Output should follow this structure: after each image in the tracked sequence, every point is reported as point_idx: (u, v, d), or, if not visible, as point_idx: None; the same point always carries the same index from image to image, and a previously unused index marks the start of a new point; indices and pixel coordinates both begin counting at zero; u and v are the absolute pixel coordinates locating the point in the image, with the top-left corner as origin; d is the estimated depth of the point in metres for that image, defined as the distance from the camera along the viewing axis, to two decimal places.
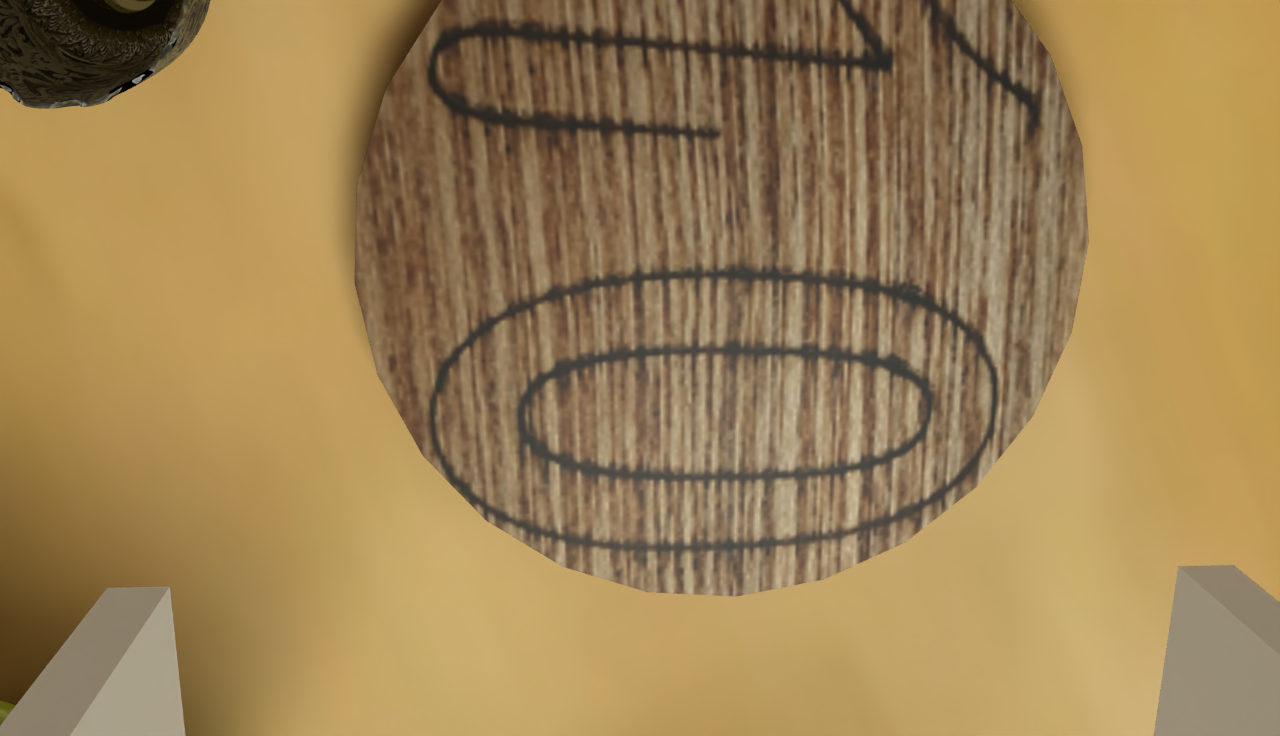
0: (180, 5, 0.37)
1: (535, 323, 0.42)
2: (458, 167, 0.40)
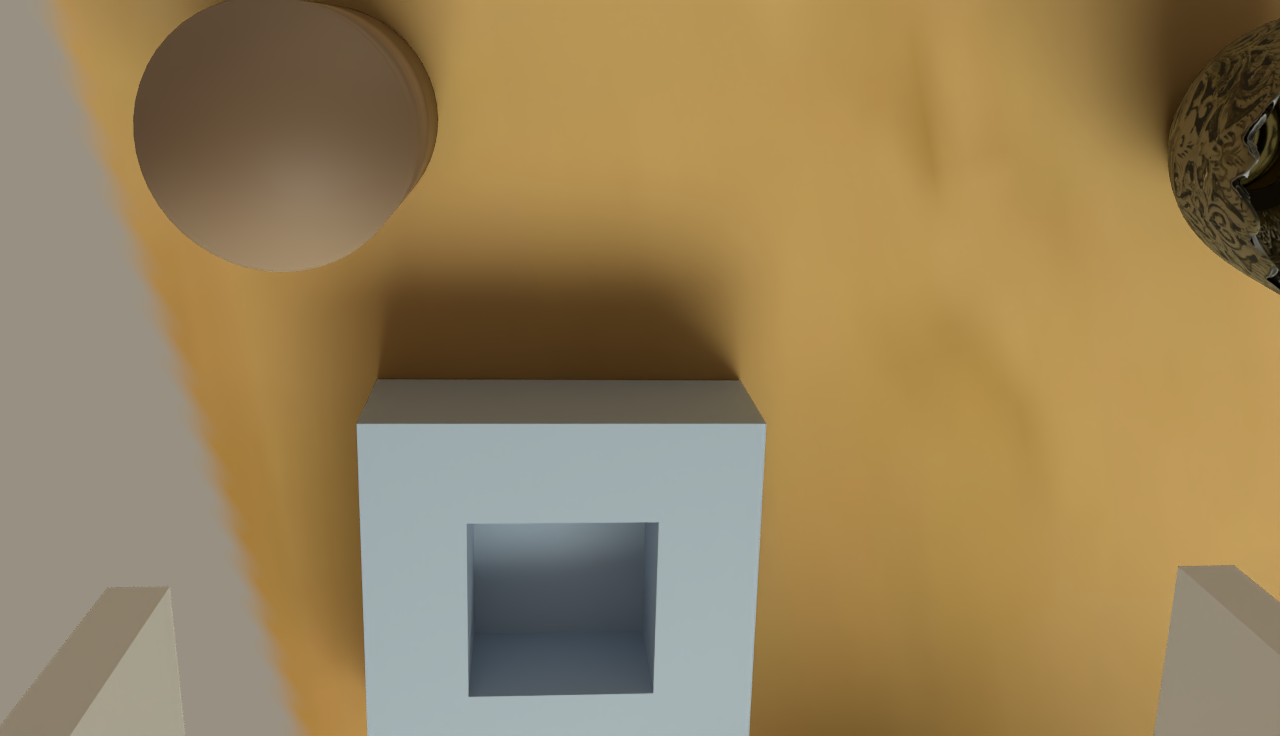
0: None
1: None
2: None
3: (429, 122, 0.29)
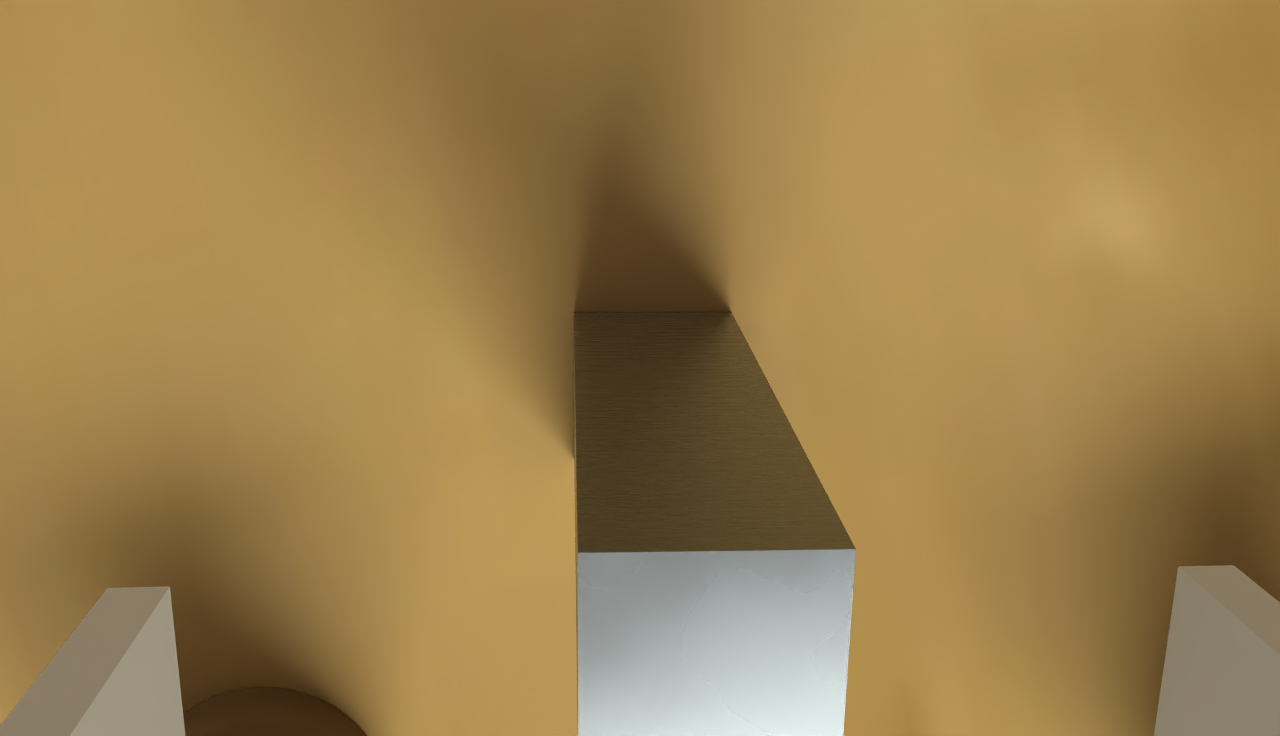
0: None
1: None
2: None
3: None
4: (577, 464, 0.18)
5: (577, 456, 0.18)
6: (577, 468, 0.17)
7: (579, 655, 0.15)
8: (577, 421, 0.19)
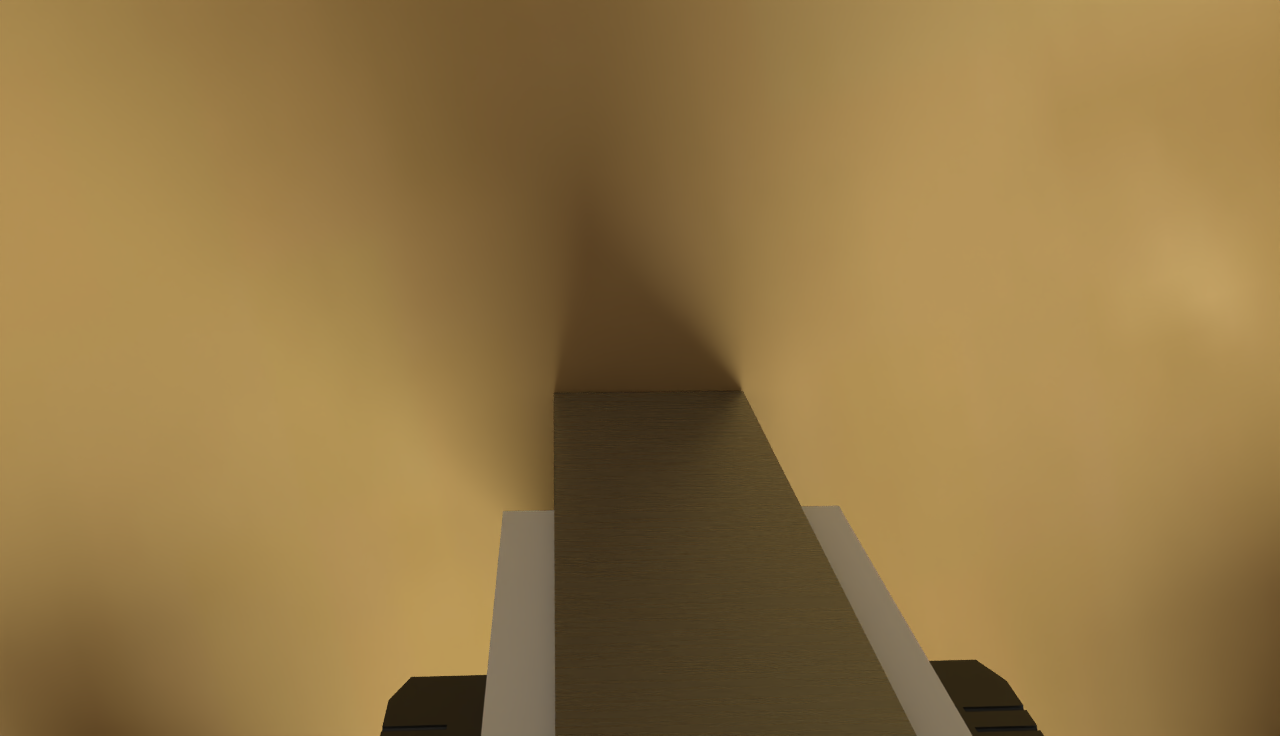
0: None
1: None
2: None
3: None
4: (556, 643, 0.13)
5: (556, 628, 0.13)
6: (556, 650, 0.13)
7: None
8: (556, 567, 0.15)
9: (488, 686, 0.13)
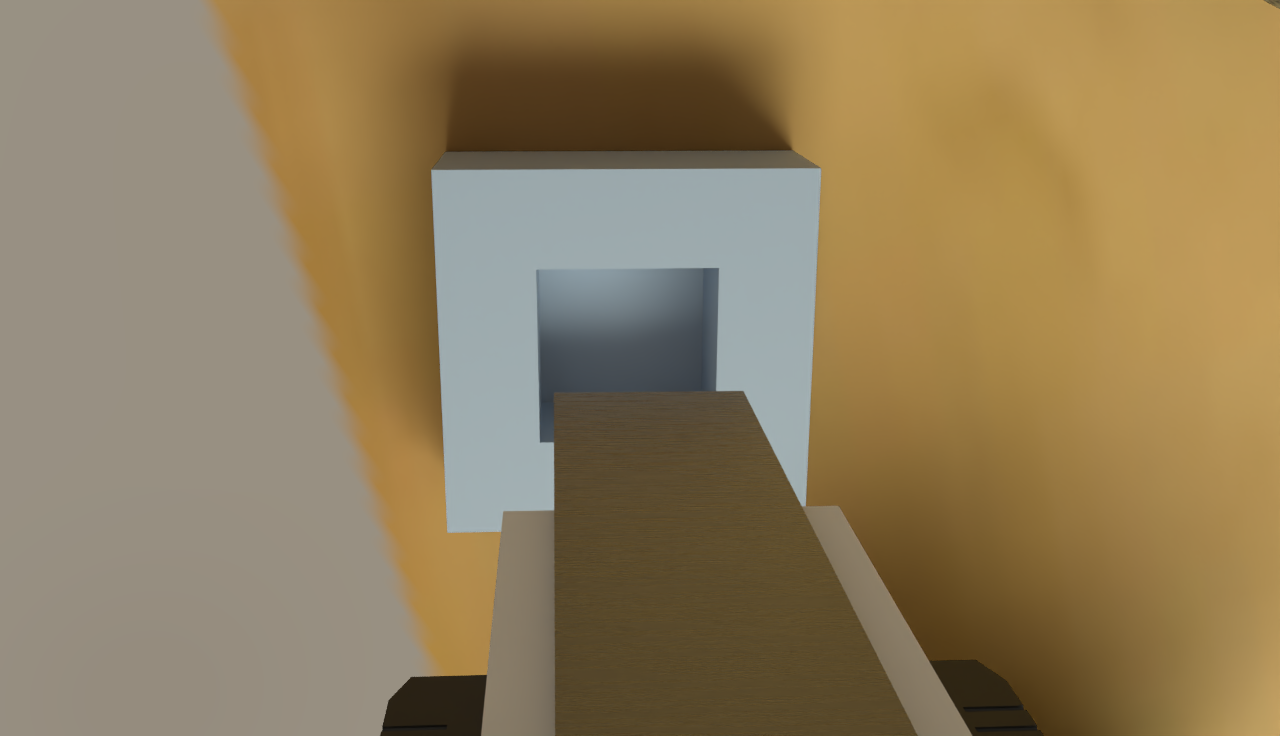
0: None
1: None
2: None
3: None
4: (556, 643, 0.13)
5: (556, 629, 0.13)
6: (556, 651, 0.13)
7: None
8: (556, 567, 0.15)
9: (488, 686, 0.13)
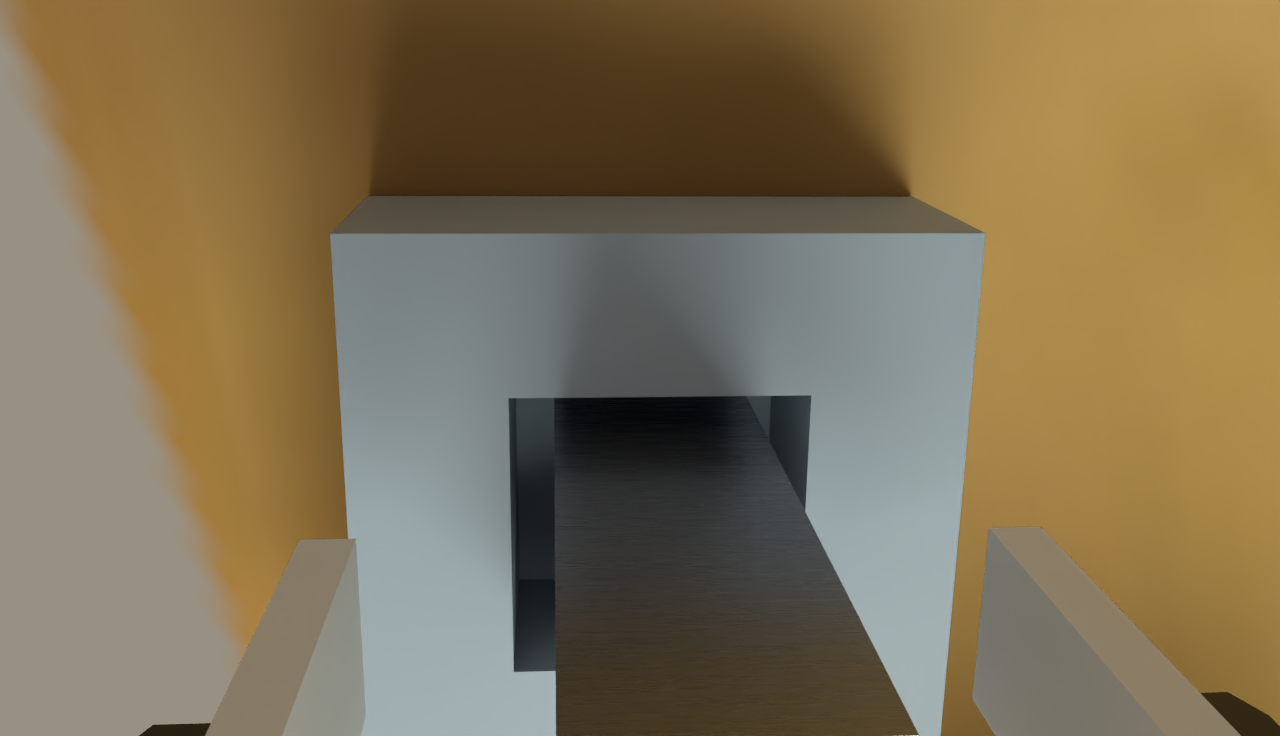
0: None
1: None
2: None
3: None
4: (556, 598, 0.14)
5: (556, 586, 0.14)
6: (556, 605, 0.14)
7: None
8: (557, 532, 0.16)
9: None
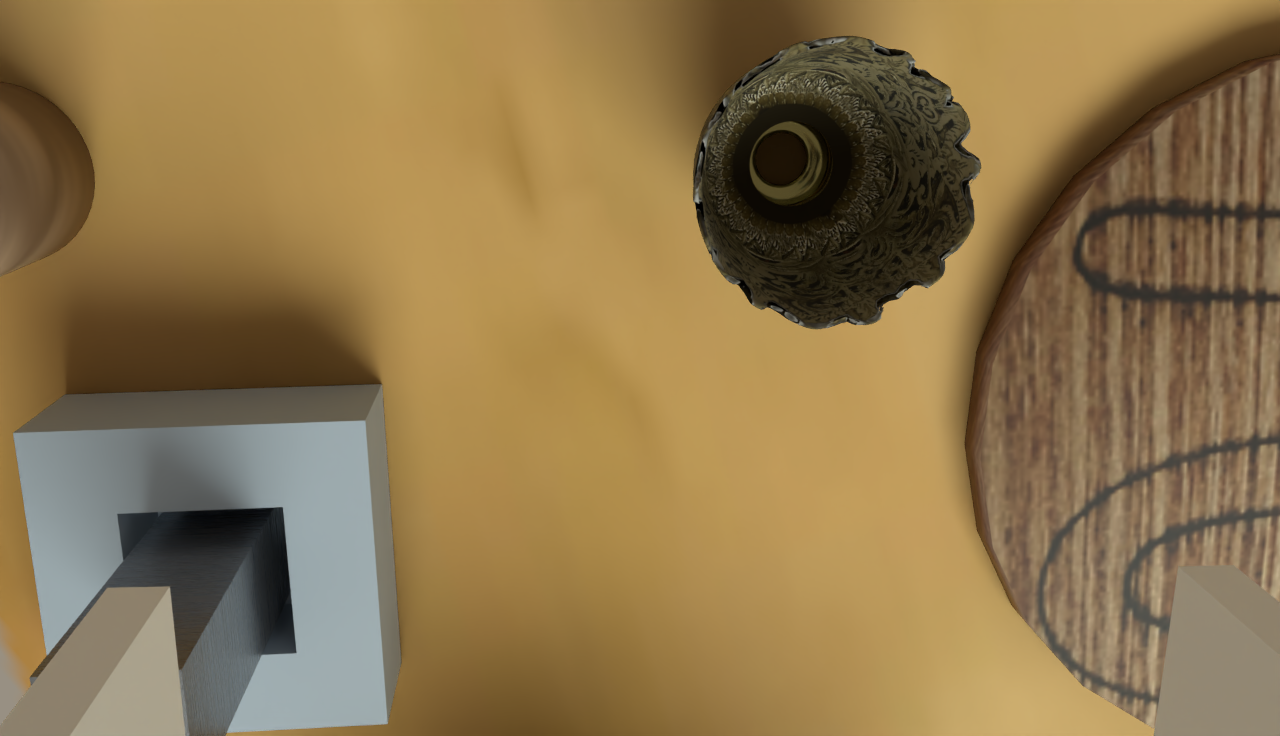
0: (849, 197, 0.37)
1: (1151, 491, 0.41)
2: (1092, 342, 0.40)
3: (62, 178, 0.35)
4: (77, 618, 0.31)
5: (81, 613, 0.31)
6: None
7: None
8: (103, 586, 0.33)
9: None
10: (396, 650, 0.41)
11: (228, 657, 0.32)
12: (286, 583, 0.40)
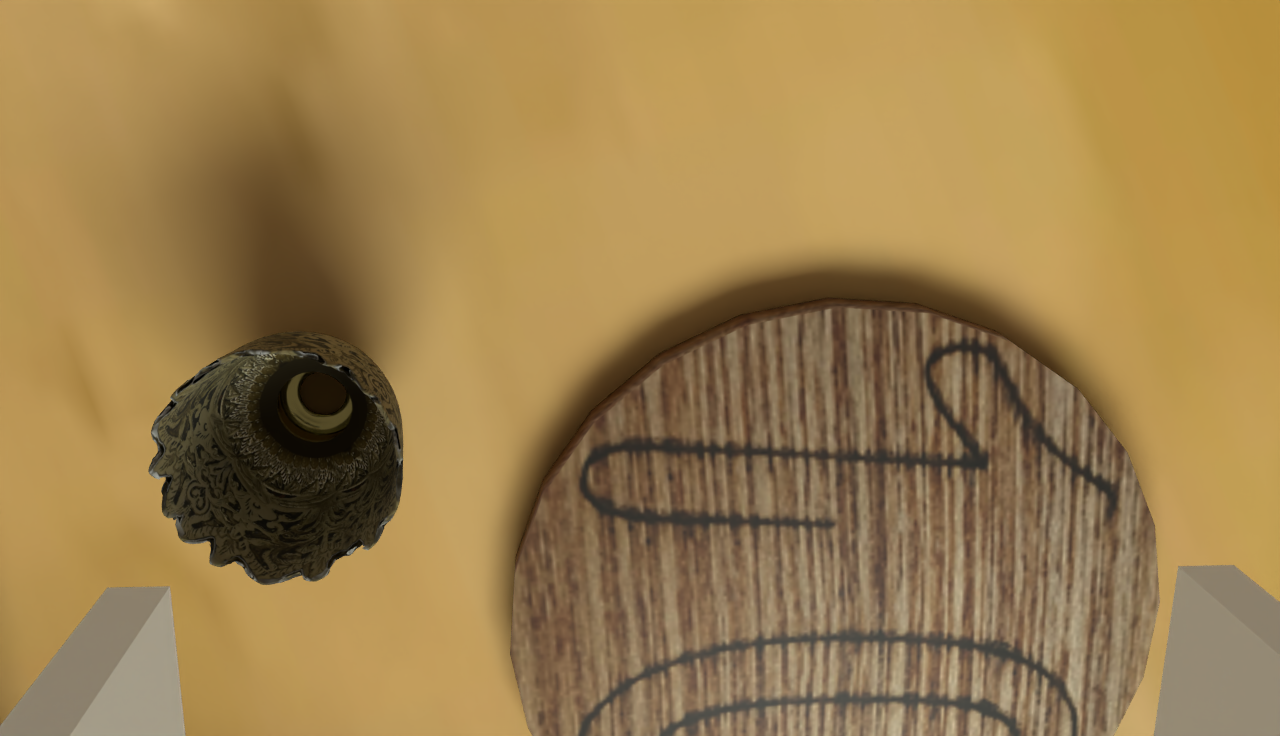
0: (366, 437, 0.43)
1: (668, 682, 0.47)
2: (604, 557, 0.45)
3: None
4: None
5: None
6: None
7: None
8: None
9: None
10: None
11: None
12: None
